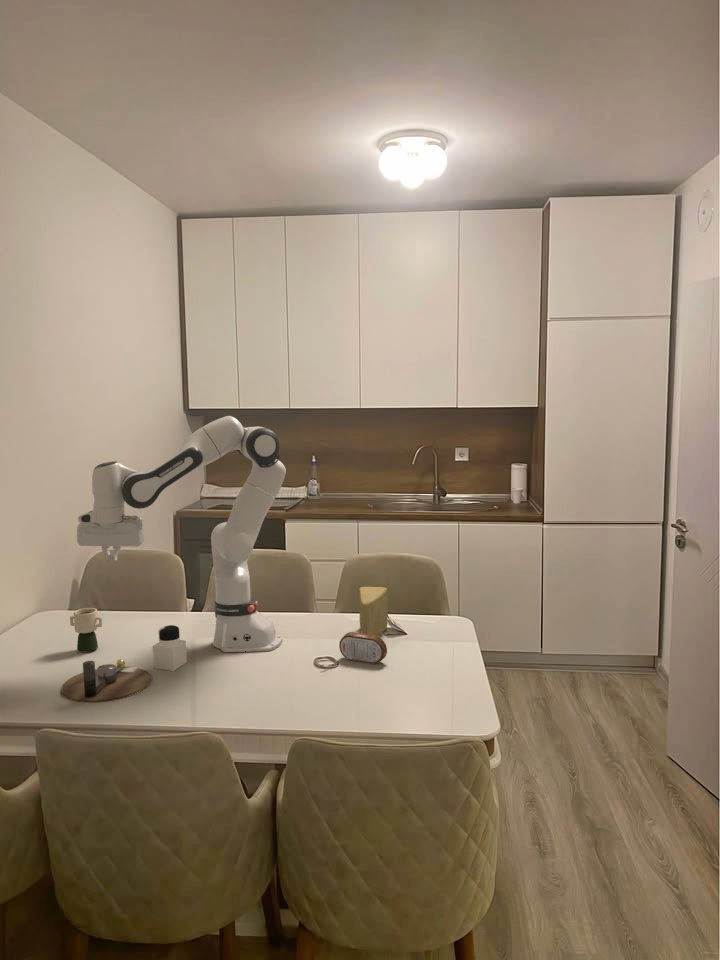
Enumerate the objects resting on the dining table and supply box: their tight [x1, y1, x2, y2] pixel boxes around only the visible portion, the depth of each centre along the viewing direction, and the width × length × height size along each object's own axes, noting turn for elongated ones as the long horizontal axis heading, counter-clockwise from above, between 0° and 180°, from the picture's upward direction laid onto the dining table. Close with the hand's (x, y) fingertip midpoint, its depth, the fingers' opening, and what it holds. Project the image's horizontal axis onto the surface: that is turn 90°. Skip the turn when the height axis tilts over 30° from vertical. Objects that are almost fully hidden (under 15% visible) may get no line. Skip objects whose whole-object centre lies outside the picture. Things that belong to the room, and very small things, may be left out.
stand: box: [61, 665, 153, 703], centre depth 211 cm, size 24×24×1 cm
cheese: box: [358, 586, 389, 637], centre depth 246 cm, size 22×10×15 cm, turn 172°
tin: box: [339, 631, 388, 665], centre depth 226 cm, size 15×3×8 cm, turn 65°
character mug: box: [69, 607, 103, 653], centre depth 239 cm, size 11×7×13 cm, turn 81°
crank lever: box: [82, 658, 126, 697], centre depth 210 cm, size 5×22×9 cm, turn 179°
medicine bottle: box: [152, 624, 187, 672], centre depth 224 cm, size 7×7×12 cm
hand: (111, 560), depth 228 cm, fingers closed
